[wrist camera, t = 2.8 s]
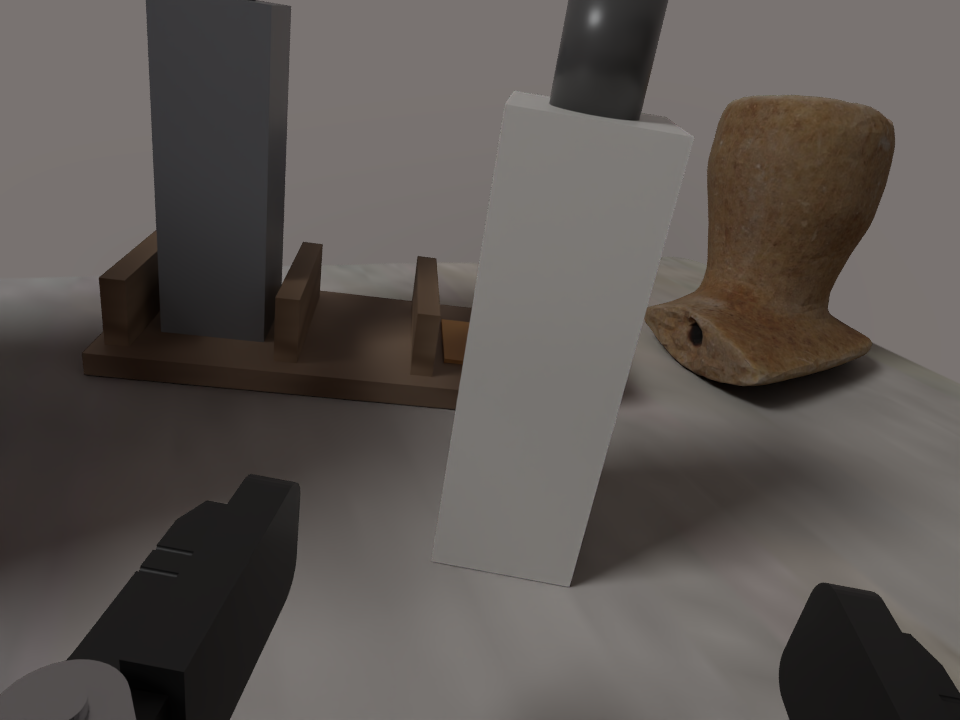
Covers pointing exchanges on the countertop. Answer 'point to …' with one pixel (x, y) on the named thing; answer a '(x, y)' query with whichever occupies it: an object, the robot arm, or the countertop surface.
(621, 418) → the countertop surface
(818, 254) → the stone cup
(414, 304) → the comb rack
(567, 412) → the white square bottle
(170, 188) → the grey square bottle
